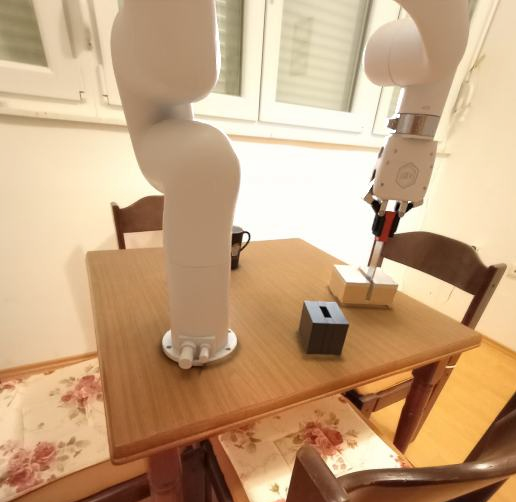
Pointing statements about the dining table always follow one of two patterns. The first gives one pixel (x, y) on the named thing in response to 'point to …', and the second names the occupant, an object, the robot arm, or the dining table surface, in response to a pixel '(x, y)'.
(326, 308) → the knife block
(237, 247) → the coffee mug
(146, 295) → the dining table surface
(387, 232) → the knife
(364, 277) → the beige rectangular box
